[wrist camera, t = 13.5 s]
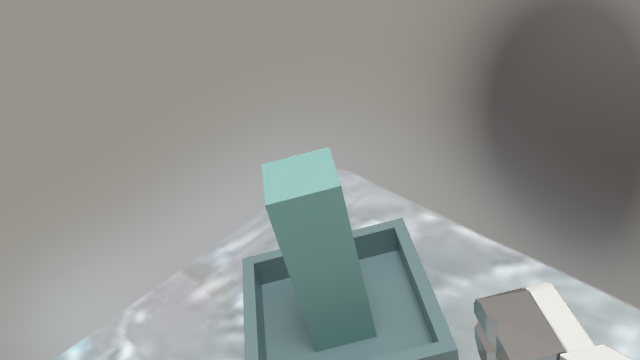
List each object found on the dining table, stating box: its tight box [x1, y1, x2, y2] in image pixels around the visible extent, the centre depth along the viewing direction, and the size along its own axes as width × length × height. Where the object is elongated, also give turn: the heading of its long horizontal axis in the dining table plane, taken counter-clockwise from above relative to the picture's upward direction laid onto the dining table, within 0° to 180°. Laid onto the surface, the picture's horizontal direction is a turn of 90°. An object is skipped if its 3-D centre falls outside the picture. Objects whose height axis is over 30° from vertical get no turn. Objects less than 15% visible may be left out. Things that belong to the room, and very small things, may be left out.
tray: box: [243, 218, 459, 360], centre depth 37 cm, size 12×12×3 cm
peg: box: [262, 147, 377, 352], centre depth 34 cm, size 4×4×12 cm
